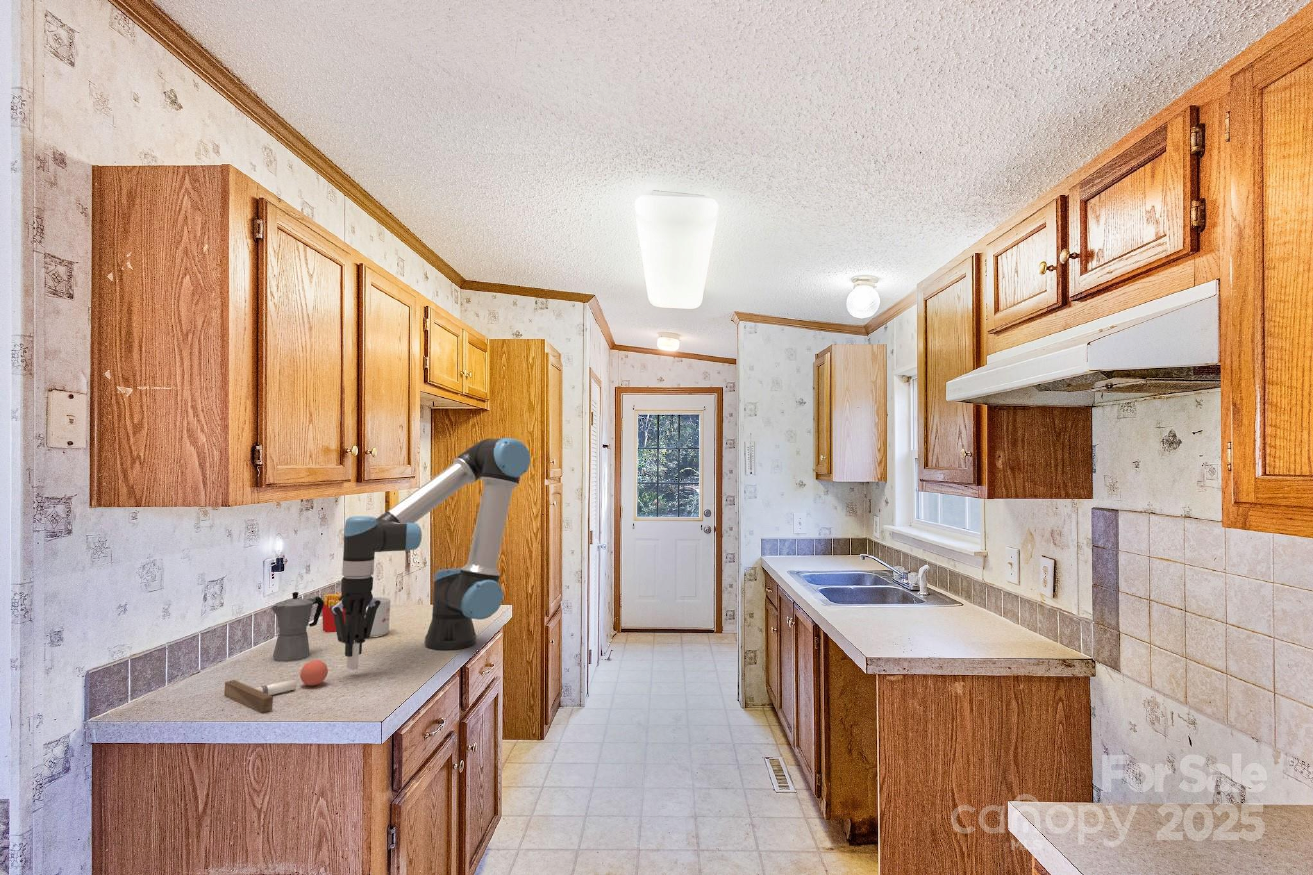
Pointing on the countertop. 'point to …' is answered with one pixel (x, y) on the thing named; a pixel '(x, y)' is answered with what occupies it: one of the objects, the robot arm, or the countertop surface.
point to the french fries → (327, 614)
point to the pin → (278, 687)
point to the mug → (381, 617)
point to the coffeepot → (294, 627)
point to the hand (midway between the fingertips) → (352, 668)
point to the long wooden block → (248, 696)
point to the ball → (313, 672)
